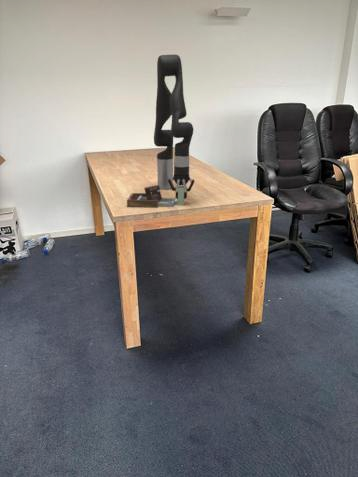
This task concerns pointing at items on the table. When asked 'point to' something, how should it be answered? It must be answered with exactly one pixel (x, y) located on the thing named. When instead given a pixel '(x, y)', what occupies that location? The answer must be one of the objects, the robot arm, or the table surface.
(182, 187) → the pull frame
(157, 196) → the box
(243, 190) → the table surface
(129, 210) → the table surface
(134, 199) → the dark brown tray
